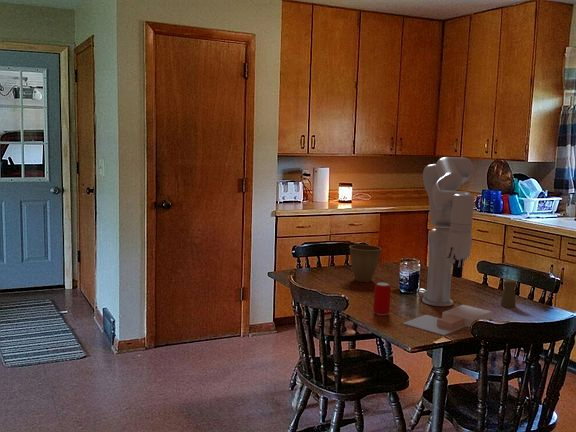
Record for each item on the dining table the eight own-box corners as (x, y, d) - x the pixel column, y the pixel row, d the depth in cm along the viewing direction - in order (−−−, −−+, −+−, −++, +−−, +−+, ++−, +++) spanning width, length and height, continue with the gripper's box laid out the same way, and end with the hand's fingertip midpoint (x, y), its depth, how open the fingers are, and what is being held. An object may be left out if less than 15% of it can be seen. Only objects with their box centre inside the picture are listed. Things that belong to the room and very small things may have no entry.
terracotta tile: (436, 326, 223) (437, 319, 223) (448, 321, 230) (449, 314, 229) (451, 330, 219) (452, 323, 219) (463, 324, 226) (464, 318, 225)
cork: (512, 309, 250) (514, 282, 248) (497, 305, 254) (500, 280, 252) (517, 306, 255) (520, 280, 253) (503, 303, 258) (505, 277, 257)
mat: (402, 324, 225) (402, 323, 225) (425, 315, 237) (425, 314, 237) (443, 335, 214) (444, 334, 214) (466, 326, 225) (466, 325, 225)
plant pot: (371, 285, 279) (373, 251, 277) (342, 280, 287) (344, 247, 285) (384, 279, 292) (386, 246, 289) (356, 274, 299) (357, 242, 297)
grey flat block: (441, 319, 232) (442, 312, 232) (462, 311, 244) (462, 304, 243) (471, 327, 224) (471, 319, 223) (490, 319, 235) (491, 311, 235)
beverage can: (387, 311, 240) (389, 282, 238) (390, 316, 234) (392, 286, 232) (372, 311, 240) (373, 281, 238) (374, 316, 234) (376, 285, 232)
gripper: (461, 224, 229) (457, 271, 232) (441, 228, 219) (437, 278, 221) (480, 227, 224) (476, 275, 227) (460, 231, 214) (456, 282, 216)
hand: (457, 276), depth 224 cm, fingers closed
